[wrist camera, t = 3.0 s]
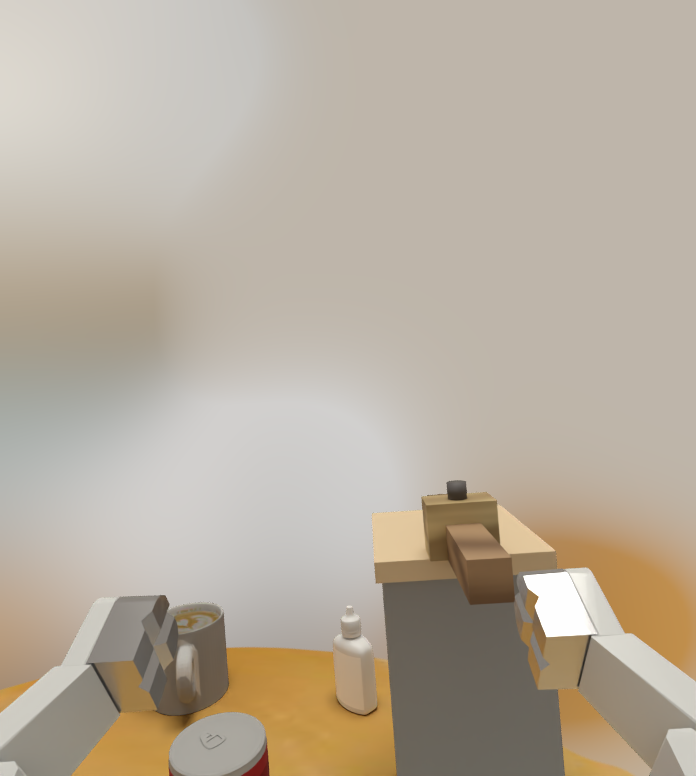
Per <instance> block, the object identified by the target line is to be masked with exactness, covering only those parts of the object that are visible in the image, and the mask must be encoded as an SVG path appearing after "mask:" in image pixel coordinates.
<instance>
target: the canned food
mask: <svg viewBox="0 0 696 776" xmlns="http://www.w3.org/2000/svg"><path fill="white" fill-rule="evenodd" d="M169 776H269V762H268V749H267V738H266V734H265V729H264V726H263V725H262V723H261V722H260V721H259V720H258V719H256V718H255V717H253V716H251V715H248V714H244V713H237V712H226V713H220V714H215V715H211V716H208V717H205V718H203V719H200V720H198V721H197V722H195V723H193V724H191V725H190V726H188V727H187V728H185V729H184V730H183V731H182V732H181V733H180V734H179V735H178V736H177V737H176V739H175V740H174V741H173V743H172V745H171V748H170V751H169Z"/></svg>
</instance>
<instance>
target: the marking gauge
mask: <svg viewBox="0 0 696 776" xmlns="http://www.w3.org/2000/svg"><path fill="white" fill-rule="evenodd" d="M422 510H423V523H424V536H425V548H426V551H427V554H428V556H429V559H430V561H447V560H448V561H449V563H450V565H451V567H452V569H453V571H454V573H455V575H456V577H457V579H458V581H459V583H460V585H461V587H462V589H463V591H464V594H465V596H466V598H467V600H468V602H469V604H470V605H478V604H494V603H511V602H515V594H514V582H513V569H512V557H511V556H510V555H509V554H508V553H507V552H506V551H505V549H504V548H503V547H502V546H501V545H500V534H499V522H498V509H497V500H496V499H494V498H493V497H492V496H491V495H489V494H488V493H487V492H483V493H468V494H467V490H466V481H449V482H447V494H438V495H427V496H423V497H422Z"/></svg>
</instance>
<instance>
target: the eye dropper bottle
mask: <svg viewBox="0 0 696 776" xmlns="http://www.w3.org/2000/svg"><path fill="white" fill-rule="evenodd" d="M341 629H342V633H341V634H340V635H338V636H336V637H335V638H334V640H333V655H334V669H335V683H336V696H337V699H338V701H339V703H340V704H341V705H342V706H343V707H344V708H346V709H347V710H349V711H351V712H354V713H357V714H362V715H366V714H368V713H370V712H371V711H373V710H374V709H375V708H376V707H377V692H376V679H375V667H374V655H373V648H372V646H371V644H370V642H369V641H368V640H367V639H366V638H365V637H364V636H363V635H362V634H361V623H360V616H359V615H357V614H354V611H353V607H352V606H347V610H346V615H344V616H343V617H342V618H341Z"/></svg>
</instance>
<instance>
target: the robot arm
mask: <svg viewBox="0 0 696 776" xmlns="http://www.w3.org/2000/svg"><path fill="white" fill-rule="evenodd" d="M516 583H517V586H518V589H519V593H518V594H517V595H516V596H515V602H514V610H515V619H516V624H517V628H518V631H519V635H520V638H521V640H522V641H523V642H524V643H525V644H526V645H527V646H528V647H529V652H528V662H529V665H530V668H531V671H532V674H533V677H534V680H535V683H536V686H537V689H538V690H547V689H578V691H579V692H580V693H581V694H582V696H583V697H584V698H585V699H586V700H587V701H588V702H589V703H590V704H591V705H592V706H593V707H594V708H595V709H596V710H597V711H598V713H599V714H600V715H601V716H602V717H603V718H604V719H605V720H606V721H607V722H608V723H609V724H610V725H611V726H612V728H613V729H614V730H615V731H616V732H617V733H618V734H619V735H620V736H621V737H622V738H623V739H624V740H625V741H626V742H627V743H628V745H629V746H630V747H631V748H632V749H633V750H634V751H635V752H636V753H637V754H638V755H639V756H640V757H641V758H642V759H643V760H644V762H646V764H647V765H648V766H649V767H650V768H651V769H652V770H651V772H650V775H649V776H696V682H695V681H694V680H693V679H691V678H690V677H689V676H688V675H686V674H685V673H684V672H682V671H681V670H679V669H678V668H677V667H676V666H674V665H673V664H672V663H670V662H669V661H668V660H666V659H665V658H664V657H662V656H661V655H660V654H658V653H657V652H656V651H654V650H653V649H652V648H650V647H649V646H648V645H646V644H645V643H644V642H643V641H641V640H640V639H638V638H637V637H636V636H635V635H633V634H625V633H624V631H623V629H622V627H621V626H620V624H619V622H618V620H617V618H616V616H615V614H614V612H613V611H612V609H611V607H610V605H609V603H608V601H607V600H606V598H605V596H604V594H603V592H602V590H601V588H600V587H599V584H598V583H597V581H596V579H595V577H594V575H593V573H592V572H591V571H590V570H589V569H588V568H574V569H552V570H539V571H526V572H519V574H518V575H517V582H516ZM168 607H169V602H168V600H167V598H166V596H165V595H160V596H131V597H110V598H99V599H98V600H96V601H95V603H94V604H93V605H92V607H91V608H90V610H89V612H88V614H87V616H86V618H85V620H84V622H83V624H82V626H81V628H80V630H79V632H78V634H77V636H76V638H75V640H74V641H73V643H72V645H71V647H70V649H69V651H68V653H67V655H66V657H65V659H64V661H63V663H62V665H61V666H56V667H53V668H52V669H51V670H50V671H49V672H48V673H46V674H45V675H44V676H43V677H42V678H41V679H39V680H38V681H37V682H36V683H35V684H34V685H32V686H31V687H30V688H29V689H28V690H27V691H26V692H24V693H23V694H22V695H21V696H20V697H19V698H17V699H16V700H15V701H14V702H13V703H12V704H11V705H9V706H8V707H7V708H6V709H5V710H4V711H2V712H1V713H0V776H71V775H72V773H73V772H74V771H75V770H76V768H77V767H78V766H79V765H80V764H81V762H82V761H83V760H84V759H85V758H86V756H87V755H88V754H89V753H90V751H91V750H92V749H93V748H94V747H95V745H96V744H97V743H98V742H99V741H100V739H101V738H102V737H103V736H104V734H105V733H106V732H107V731H108V730H109V728H110V727H111V726H112V725H113V723H114V722H115V721H116V720H117V719H118V717H119V716H120V714H119V713H126V712H138V711H150V710H158V707H159V704H160V701H161V698H162V694H163V691H164V688H165V685H166V682H167V677H166V675H165V672H164V669H165V668H166V667H167V666H168V665H169V664H170V663H171V662H172V661H173V660H174V656H175V653H176V649H177V643H178V626H177V622H176V620H175V617H174V616H172V615H171V614H169V613H168V612H167V610H168Z"/></svg>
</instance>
